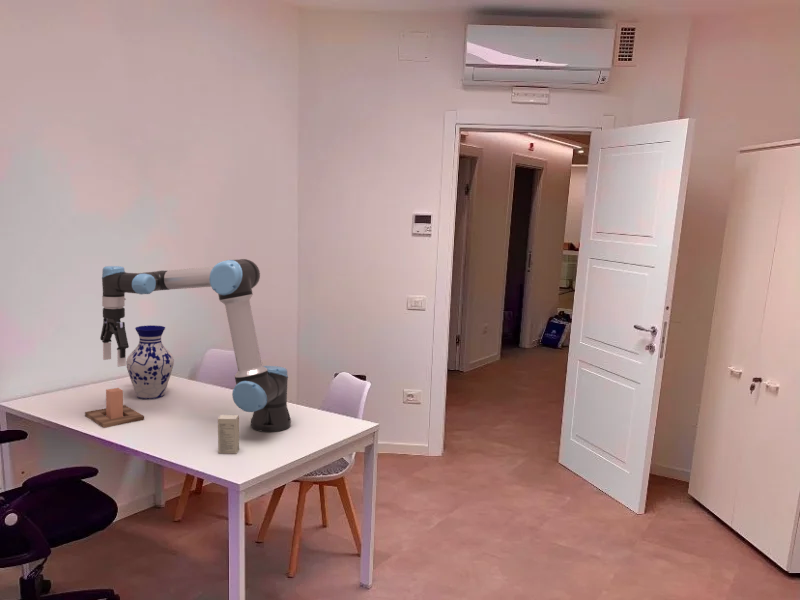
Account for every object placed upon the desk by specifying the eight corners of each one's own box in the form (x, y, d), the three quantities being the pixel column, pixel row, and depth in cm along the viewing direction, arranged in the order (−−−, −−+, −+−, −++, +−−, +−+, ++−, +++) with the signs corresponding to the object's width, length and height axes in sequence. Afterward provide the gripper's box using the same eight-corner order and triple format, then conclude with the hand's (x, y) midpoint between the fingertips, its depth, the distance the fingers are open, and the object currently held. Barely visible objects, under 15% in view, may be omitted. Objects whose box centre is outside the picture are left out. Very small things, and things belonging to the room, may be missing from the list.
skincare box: (239, 449, 206) (240, 414, 204) (236, 454, 201) (237, 418, 200) (220, 448, 205) (220, 414, 204) (217, 453, 201) (217, 418, 200)
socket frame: (144, 419, 230) (144, 416, 230) (103, 428, 220) (103, 424, 219) (124, 408, 243) (124, 404, 242) (85, 415, 232) (84, 411, 232)
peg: (123, 418, 231) (122, 390, 230) (110, 420, 228) (110, 392, 227) (118, 415, 234) (118, 387, 233) (106, 417, 231) (106, 389, 230)
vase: (174, 400, 256) (174, 331, 252) (125, 403, 249) (124, 332, 245) (173, 388, 274) (173, 323, 270) (127, 391, 267) (127, 324, 263)
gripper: (138, 310, 220) (138, 367, 223) (110, 302, 237) (111, 355, 240) (117, 312, 215) (117, 370, 217) (90, 303, 232) (91, 357, 234)
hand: (114, 362), depth 228 cm, fingers open, 13 cm apart
